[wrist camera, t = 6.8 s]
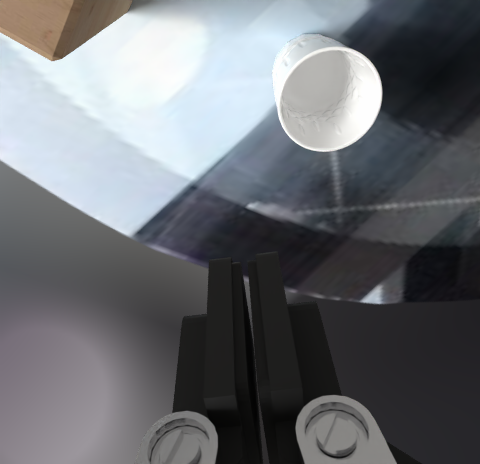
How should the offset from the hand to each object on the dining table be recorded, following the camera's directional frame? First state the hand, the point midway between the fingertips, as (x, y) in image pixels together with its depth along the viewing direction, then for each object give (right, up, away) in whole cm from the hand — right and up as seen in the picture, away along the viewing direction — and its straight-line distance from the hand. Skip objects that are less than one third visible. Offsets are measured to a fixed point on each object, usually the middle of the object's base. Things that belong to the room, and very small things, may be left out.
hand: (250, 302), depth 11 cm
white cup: (+6, +17, +31) cm, 36 cm away
